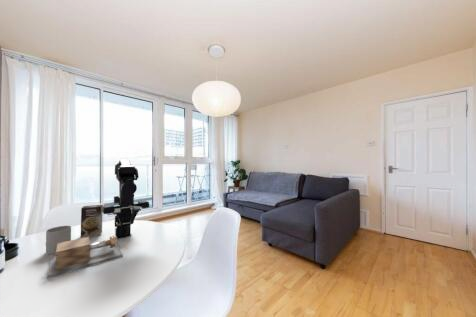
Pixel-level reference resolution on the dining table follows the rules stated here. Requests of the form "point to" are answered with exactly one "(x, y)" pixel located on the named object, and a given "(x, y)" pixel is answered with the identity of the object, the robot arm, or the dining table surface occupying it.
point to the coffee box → (91, 221)
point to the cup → (56, 238)
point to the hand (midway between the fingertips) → (126, 224)
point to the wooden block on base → (79, 256)
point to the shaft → (104, 244)
